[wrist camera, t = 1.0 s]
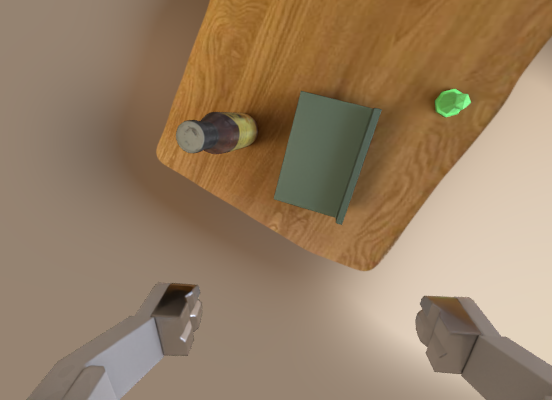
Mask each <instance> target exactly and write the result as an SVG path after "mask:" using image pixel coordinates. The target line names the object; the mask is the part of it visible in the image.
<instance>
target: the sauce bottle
mask: <svg viewBox="0 0 552 400" xmlns="http://www.w3.org/2000/svg"><path fill="white" fill-rule="evenodd" d="M257 135H258V126H257V123H256V121H255V120H254V119H253V118H252V117H251V116H249V115H247V114H244V113H232V112H211V113H209V114H207V115H206V116H205V117H204V118H203V119H202V120H201V121H197V120H189V121H184V122H183V123H181V124H180V125H179V126H178V129H177V132H176V139H177V142H178V144H179V146H180V147H181V148H182V149H183V150H184V151H186V152H188V153H197V152H200V151H202V150H204V151H206V152H208V153H211V154H222V153H226V152H231V151H234V150H237V149H241V148H244V147H247V146H249V145H250V144H252V143H253V142H254V141H255V139H256V138H257Z"/></svg>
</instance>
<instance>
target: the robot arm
mask: <svg viewBox="0 0 552 400" xmlns="http://www.w3.org/2000/svg"><path fill="white" fill-rule="evenodd" d="M199 295H200V289H199V286H198V285H192V284H178V283H161V282H159V283H157V284H156V285H155V286H154V287H153V289H152V290H151V292H150V293H149V295H148V296H147V298H146V299H145V301H144V303H143V304H142V305H141V307H140V309H139V310H138V312H137V313H136V315H135V316H129V317H128V318H126V319H125V320H123V321H122V322H120V323H118V324H117V325H115V326H114V327H112V328H110V329H109V330H107V331H106V332H104V333H102V334H101V335H99V336H98V337H96V338H95V339H93V340H91V341H90V342H88V343H87V344H85V345H83V346H82V347H80V348H79V349H77V350H75V351H74V352H72V353H71V354H69V355H67V356H66V357H64V358H63V359H61V360H60V361H58V362H57V363H56V364H55V365H54V367H53V368H52V369H51V370H50V372H49V373H48V374H47V375H46V376H45V378H44V379H43V380H42V381H41V383H40V384H39V385H38V386H37V388H36V389H35V390H34V391H33V392H32V394H31V395H30V396H29V397H28V399H27V400H119V399H120V398H121V397H122V396H123V395H124V394H126V393H127V392H128V391H129V390H130V389H131V388H132V387H133V386H134V385H135V384H136V383H137V382H138V381H139V380H140V379H141V378H142V377H143V376H144V375H145V374H146V373H147V372H148V371H149V370H150V369H151V368H153V367H154V366H155V365H156V364H157V363H158V362H159V361H160V360H161V359H162V358H163V357H164V356H163V355H172V356H188V354H189V351H190V349H191V346H192V343H193V341H194V335H193V332H194V331H196V330H197V329H198V328H199V325H200V322H201V317H202V302H201V301H200V300H199V299H198V297H199ZM420 305H421V307H422V310H421V311H420V312H418V314H417V316H416V331H417V334H418V337H419V339H420V341H421V342H422V343H423V344H424V345H425V346H427V347H428V348H427V351H426V355H427V357H428V359H429V361H430V363H431V365H432V367H433V370H434V371H435V372H442V373H453V374H462V375H461V376H462V377H463V378H464V379H465V380H467V382H468V383H469V384H471V385H472V386H473V387H474V388H475V389H476V390H477V391H478V392H479V393H480V394H481V395H482V396H483V397H484V398H485V399H486V400H552V366H551V365H549V364H548V363H546V362H545V361H543V360H541V359H540V358H538V357H537V356H535V355H534V354H532V353H531V352H529V351H528V350H526V349H524V348H523V347H521V346H520V345H518V344H517V343H515V342H513V341H512V340H510V339H509V338H507V337H501V335H500V334H499V333H498V332H497V330H496V329H495V328H494V327H493V325H492V324H491V323H490V321H489V320H488V319H487V317H486V316H485V315H484V314H483V312H482V311H481V310H480V308H479V307H478V306H477V305H476V303H475V302H474V301H473V300H472V299H471V298H469V297H441V296H424V297H423V298H422V299H421V303H420Z"/></svg>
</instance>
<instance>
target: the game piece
mask: <svg viewBox="0 0 552 400" xmlns="http://www.w3.org/2000/svg"><path fill="white" fill-rule="evenodd" d="M470 103H471V101H470V98H469V96H468V94H463V93H461V92H460V91H458V90H456V89H451V90H448V91H444V92H441V94H440V95H439V96H438V98H437V99H436V100H435V109H436V112H437V113H439V114H441V115H442V116H444V117H448V116H452V115H456V114H458V113H459V112H460V110H461V109H464V108H465V107H466V106H467V105H469V104H470Z"/></svg>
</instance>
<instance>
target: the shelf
mask: <svg viewBox="0 0 552 400" xmlns="http://www.w3.org/2000/svg"><path fill="white" fill-rule="evenodd" d="M380 113H381V109H377V108H373V109H372V108H368V107H364V106H360V105H356V104H352V103H348V102H344V101H340V100H336V99H332V98H328V97H324V96H320V95H316V94H312V93H308V92H303V91H301V93H300V97H299V101H298V105H297V109H296V113H295V117H294V121H293V125H292V129H291V133H290V137H289V141H288V144H287V148H286V152H285V156H284V160H283V164H282V168H281V172H280V176H279V180H278V184H277V188H276V192H275V196H274V199H275V200H278V201H282V202H285V203H288V204H292V205H295V206H298V207H302V208H305V209H308V210H312V211H315V212H318V213H322V214H325V215H328V216H332V217H335V218H336V223H337V224H341V225H342V223H343V220H344V217H345V214H346V211H347V208H348V205H349V203H350V200H351V197H352V194H353V191H354V188H355V185H356V182H357V180H358V177H359V174H360V171H361V168H362V165H363V162H364V159H365V156H366V154H367V151H368V148H369V145H370V142H371V139H372V136H373V133H374V131H375V128H376V125H377V122H378V119H379V116H380Z"/></svg>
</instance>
